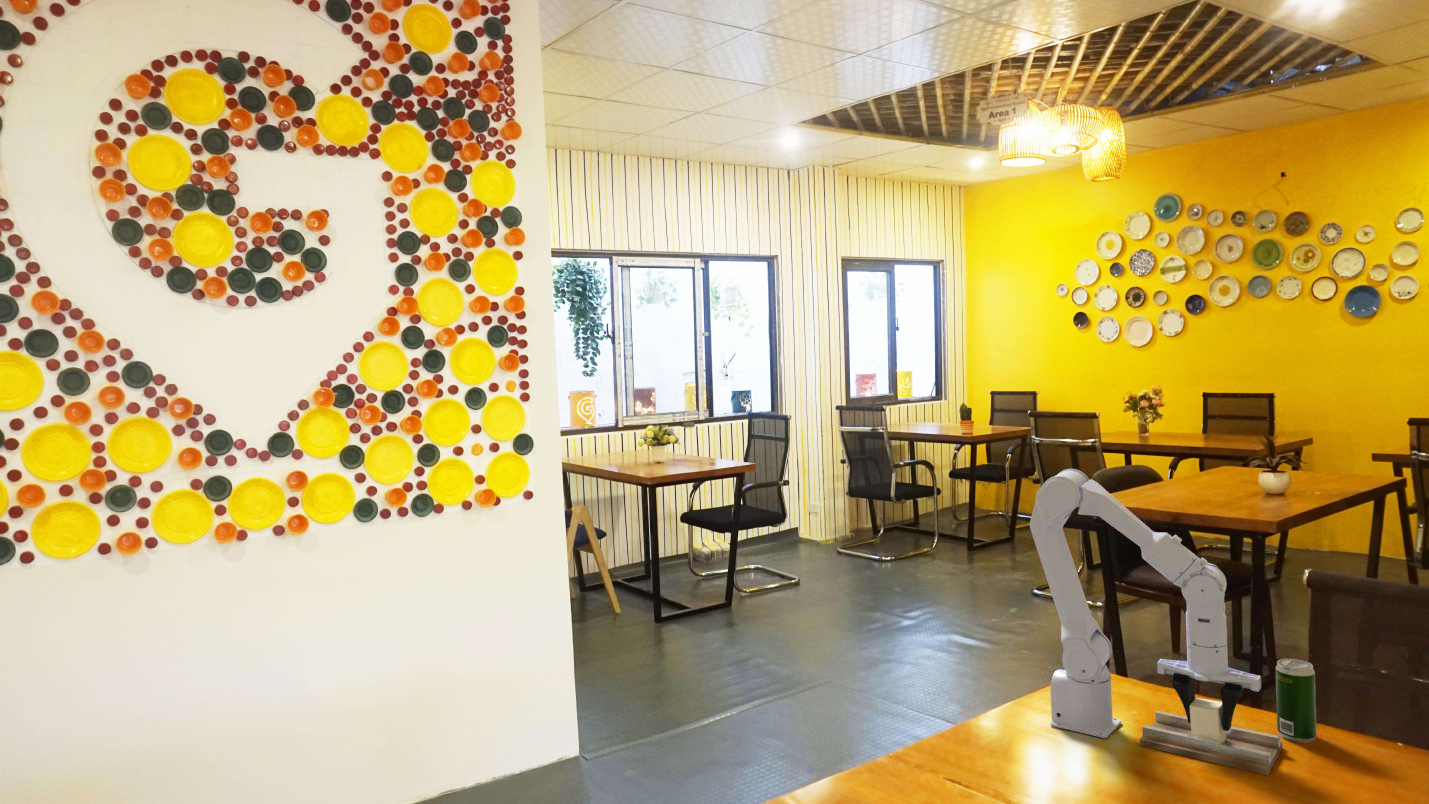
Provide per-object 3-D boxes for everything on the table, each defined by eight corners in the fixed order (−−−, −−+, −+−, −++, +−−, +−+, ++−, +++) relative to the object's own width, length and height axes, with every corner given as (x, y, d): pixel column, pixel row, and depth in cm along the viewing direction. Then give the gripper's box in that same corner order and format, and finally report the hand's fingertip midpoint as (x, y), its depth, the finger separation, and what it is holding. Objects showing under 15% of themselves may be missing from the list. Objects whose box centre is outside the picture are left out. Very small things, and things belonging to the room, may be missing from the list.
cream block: (1192, 742, 143) (1189, 705, 143) (1198, 733, 146) (1196, 697, 146) (1219, 748, 140) (1217, 710, 140) (1226, 738, 143) (1223, 702, 143)
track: (1139, 745, 145) (1139, 730, 145) (1160, 721, 153) (1159, 707, 153) (1267, 775, 133) (1267, 758, 133) (1282, 748, 141) (1281, 732, 141)
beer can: (1307, 746, 141) (1305, 672, 141) (1271, 735, 146) (1268, 663, 145) (1322, 736, 144) (1321, 664, 144) (1286, 726, 149) (1284, 655, 148)
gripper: (1150, 640, 144) (1153, 722, 145) (1252, 657, 134) (1255, 745, 135) (1163, 629, 149) (1166, 708, 150) (1263, 644, 140) (1265, 728, 140)
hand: (1209, 724), depth 143 cm, fingers open, 4 cm apart
